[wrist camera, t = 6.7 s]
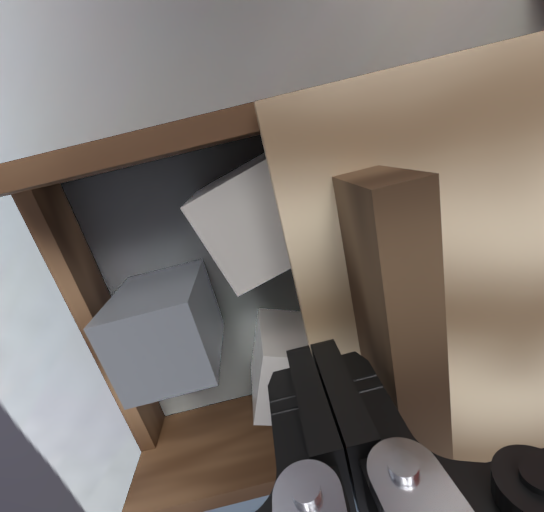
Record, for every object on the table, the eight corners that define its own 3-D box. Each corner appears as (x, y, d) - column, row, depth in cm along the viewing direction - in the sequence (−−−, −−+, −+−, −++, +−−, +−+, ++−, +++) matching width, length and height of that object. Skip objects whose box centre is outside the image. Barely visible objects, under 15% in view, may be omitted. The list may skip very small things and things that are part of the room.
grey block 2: (197, 190, 16) (179, 208, 11) (269, 149, 15) (280, 151, 11) (238, 258, 17) (237, 296, 13) (306, 221, 17) (328, 248, 12)
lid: (253, 104, 9) (260, 78, 6) (691, -3, 9) (959, -93, 6) (340, 484, 14) (370, 590, 11) (616, 414, 14) (732, 497, 11)
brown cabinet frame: (35, 170, 15) (-83, 184, 9) (312, 102, 15) (352, 77, 9) (156, 429, 20) (125, 531, 15) (359, 378, 20) (401, 461, 15)
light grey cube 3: (258, 307, 18) (263, 356, 14) (323, 312, 18) (347, 360, 14) (251, 364, 19) (253, 425, 15) (312, 367, 20) (332, 427, 15)
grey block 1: (127, 277, 17) (83, 329, 12) (202, 258, 17) (187, 302, 12) (155, 340, 18) (124, 410, 13) (224, 323, 18) (218, 385, 13)
